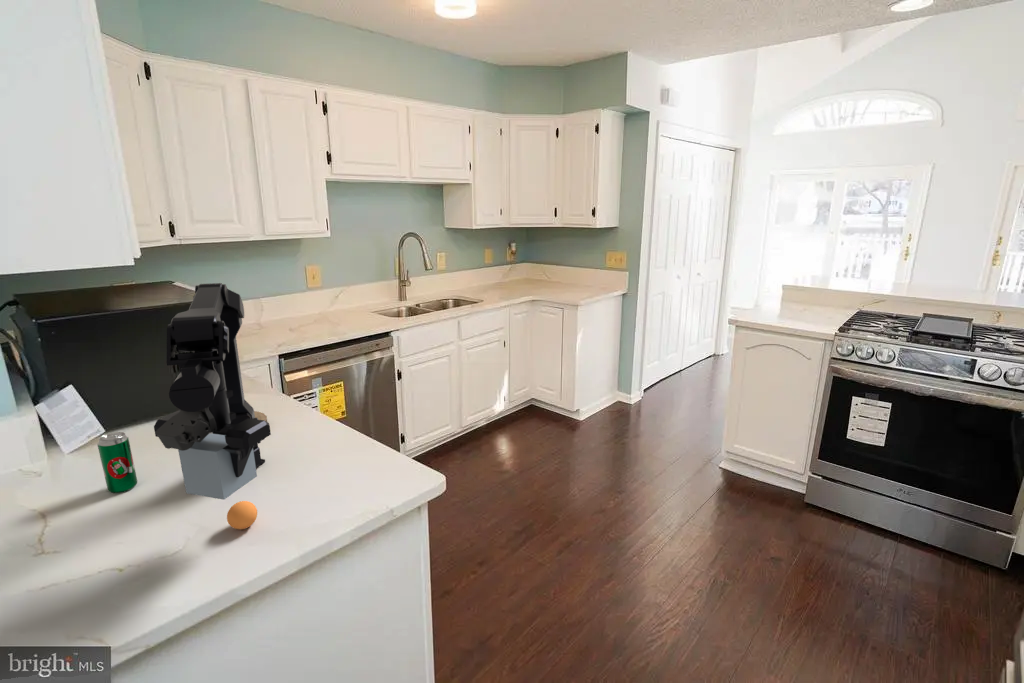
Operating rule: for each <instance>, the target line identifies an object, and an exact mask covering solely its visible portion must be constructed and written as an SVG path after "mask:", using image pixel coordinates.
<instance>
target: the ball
mask: <svg viewBox="0 0 1024 683" xmlns="http://www.w3.org/2000/svg"><path fill="white" fill-rule="evenodd" d="M257 517H258V509H257V507H256V505H255V504H254V503H253V502H251V501H248V500H241V501H238V502H236V503H234V504H233V505H232V506H231V507H230V508H229V509H228V511H227V515H226V520H227V522H228V525H229V526H230V527H231V528H233V529H235V530H244V529H247V528H249V527H251V526H252V525H253V524H254V523H255V522H256V520H257Z"/></svg>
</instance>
